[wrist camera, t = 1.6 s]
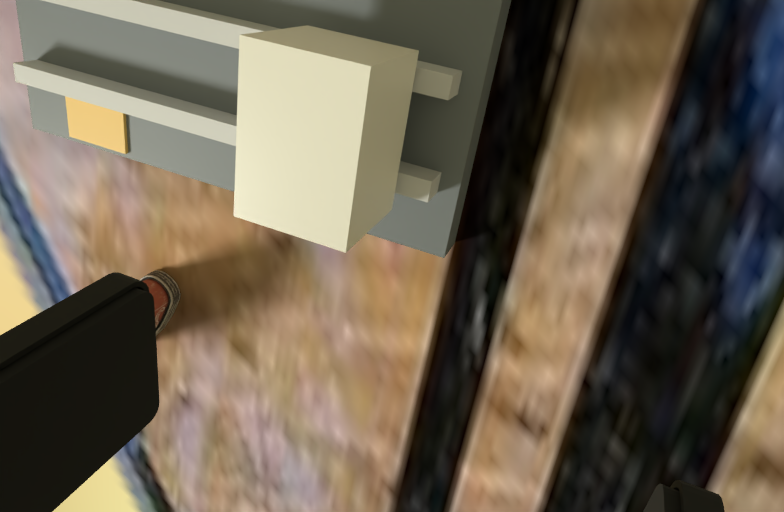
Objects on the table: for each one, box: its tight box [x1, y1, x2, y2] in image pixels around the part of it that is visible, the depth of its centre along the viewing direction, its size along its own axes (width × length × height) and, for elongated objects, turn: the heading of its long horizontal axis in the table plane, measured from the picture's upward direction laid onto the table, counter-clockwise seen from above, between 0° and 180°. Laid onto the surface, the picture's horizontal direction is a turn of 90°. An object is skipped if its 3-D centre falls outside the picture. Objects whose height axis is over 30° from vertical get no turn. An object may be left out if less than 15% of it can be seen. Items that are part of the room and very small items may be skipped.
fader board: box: [13, 0, 511, 258], centre depth 30 cm, size 26×12×4 cm, turn 81°
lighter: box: [140, 270, 181, 336], centre depth 37 cm, size 8×3×10 cm, turn 139°
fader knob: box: [234, 25, 419, 253], centre depth 24 cm, size 5×7×6 cm
